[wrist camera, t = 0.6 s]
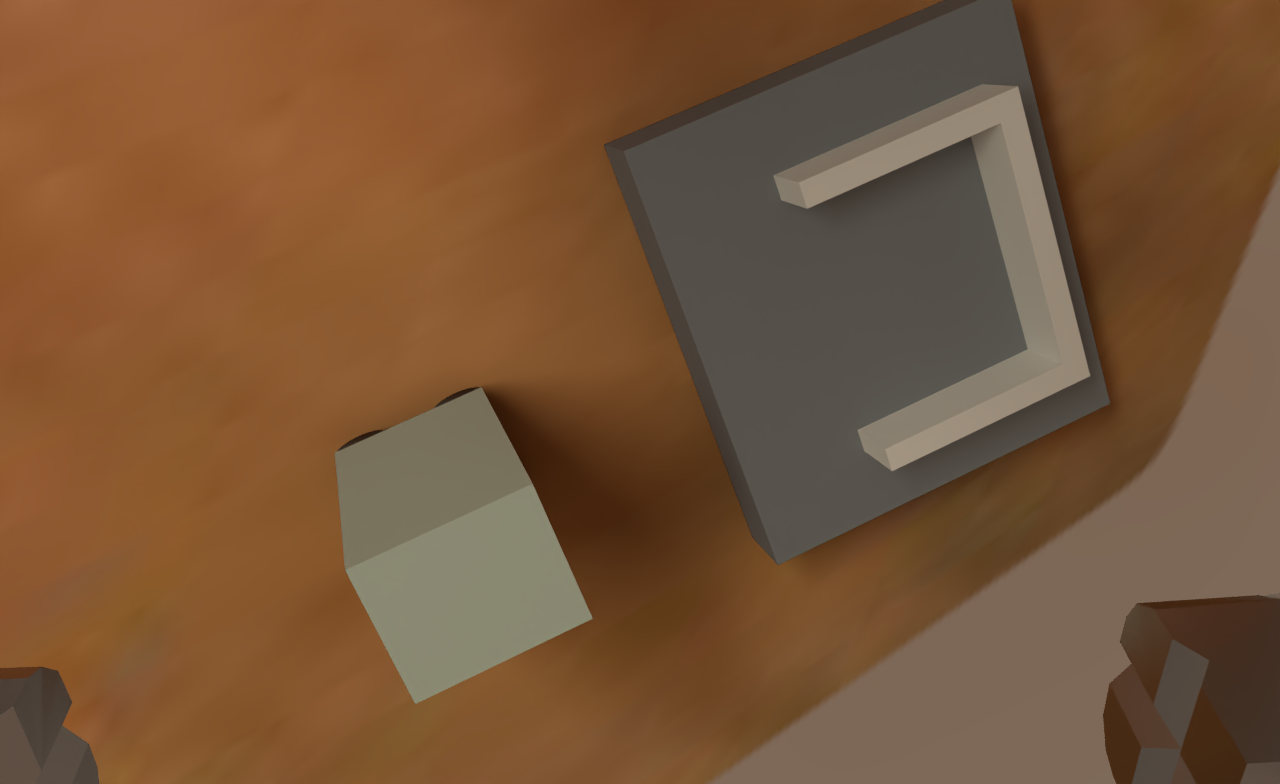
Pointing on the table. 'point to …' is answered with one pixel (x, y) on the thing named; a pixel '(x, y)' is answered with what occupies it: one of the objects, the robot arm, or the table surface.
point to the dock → (867, 270)
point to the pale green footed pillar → (451, 545)
